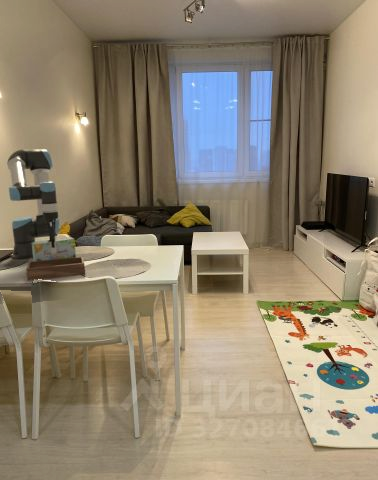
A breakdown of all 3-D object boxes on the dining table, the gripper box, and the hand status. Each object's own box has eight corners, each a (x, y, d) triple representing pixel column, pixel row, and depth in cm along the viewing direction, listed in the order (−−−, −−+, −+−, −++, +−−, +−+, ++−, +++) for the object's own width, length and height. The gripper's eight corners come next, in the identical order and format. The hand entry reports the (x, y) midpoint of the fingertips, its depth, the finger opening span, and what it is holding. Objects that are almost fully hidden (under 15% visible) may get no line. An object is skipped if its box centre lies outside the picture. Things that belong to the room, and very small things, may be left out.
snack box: (37, 272, 191) (33, 243, 188) (34, 269, 196) (31, 242, 192) (76, 264, 203) (74, 238, 200) (73, 262, 208) (71, 236, 204)
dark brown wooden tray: (30, 272, 190) (28, 261, 189) (84, 266, 198) (83, 256, 197) (27, 280, 177) (26, 269, 176) (85, 274, 185) (84, 263, 184)
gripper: (44, 209, 203) (48, 246, 208) (41, 214, 180) (45, 256, 184) (58, 208, 205) (62, 245, 210) (57, 213, 182) (61, 255, 187)
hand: (54, 250), depth 197 cm, fingers open, 13 cm apart
